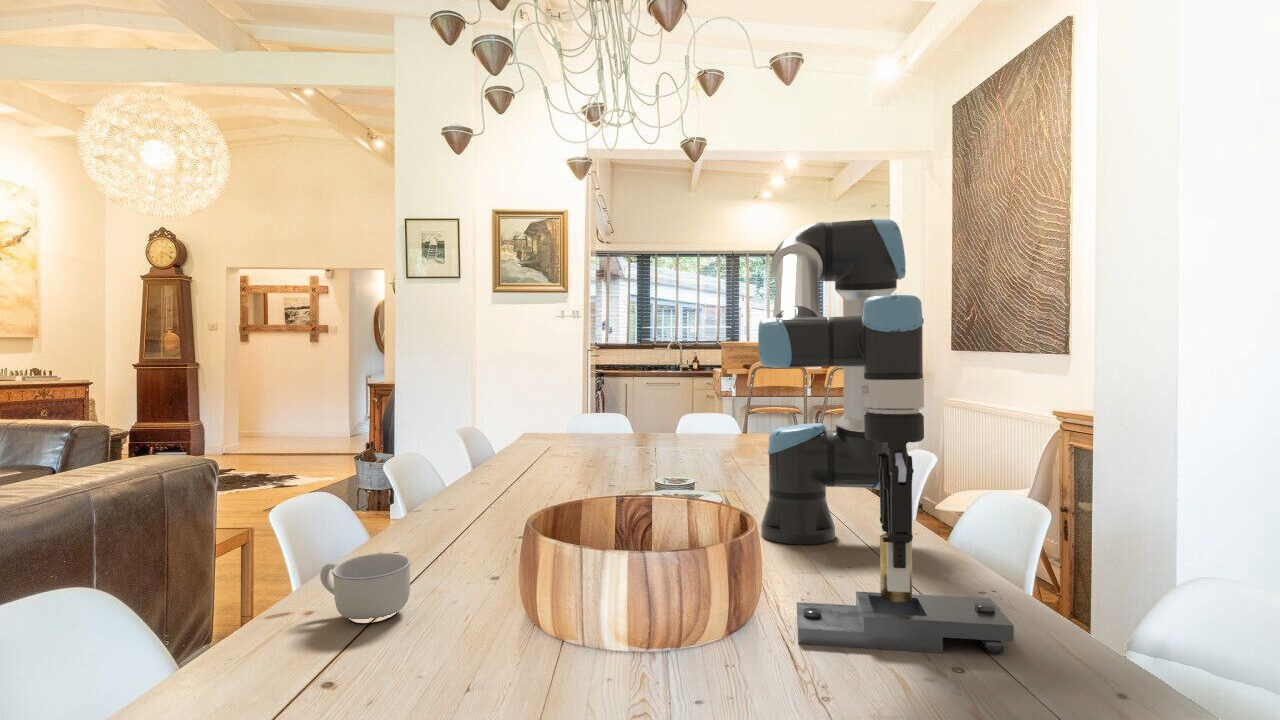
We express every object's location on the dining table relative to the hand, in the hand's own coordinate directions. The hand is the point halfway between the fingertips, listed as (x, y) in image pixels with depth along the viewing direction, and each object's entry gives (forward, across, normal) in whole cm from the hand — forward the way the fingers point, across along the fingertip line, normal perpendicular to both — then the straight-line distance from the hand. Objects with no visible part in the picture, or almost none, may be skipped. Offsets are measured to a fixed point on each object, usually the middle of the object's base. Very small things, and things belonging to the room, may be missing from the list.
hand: (896, 585), depth 94 cm
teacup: (+7, +5, -76) cm, 76 cm away
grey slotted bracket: (+7, 0, 0) cm, 7 cm away
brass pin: (+2, 0, 0) cm, 2 cm away
